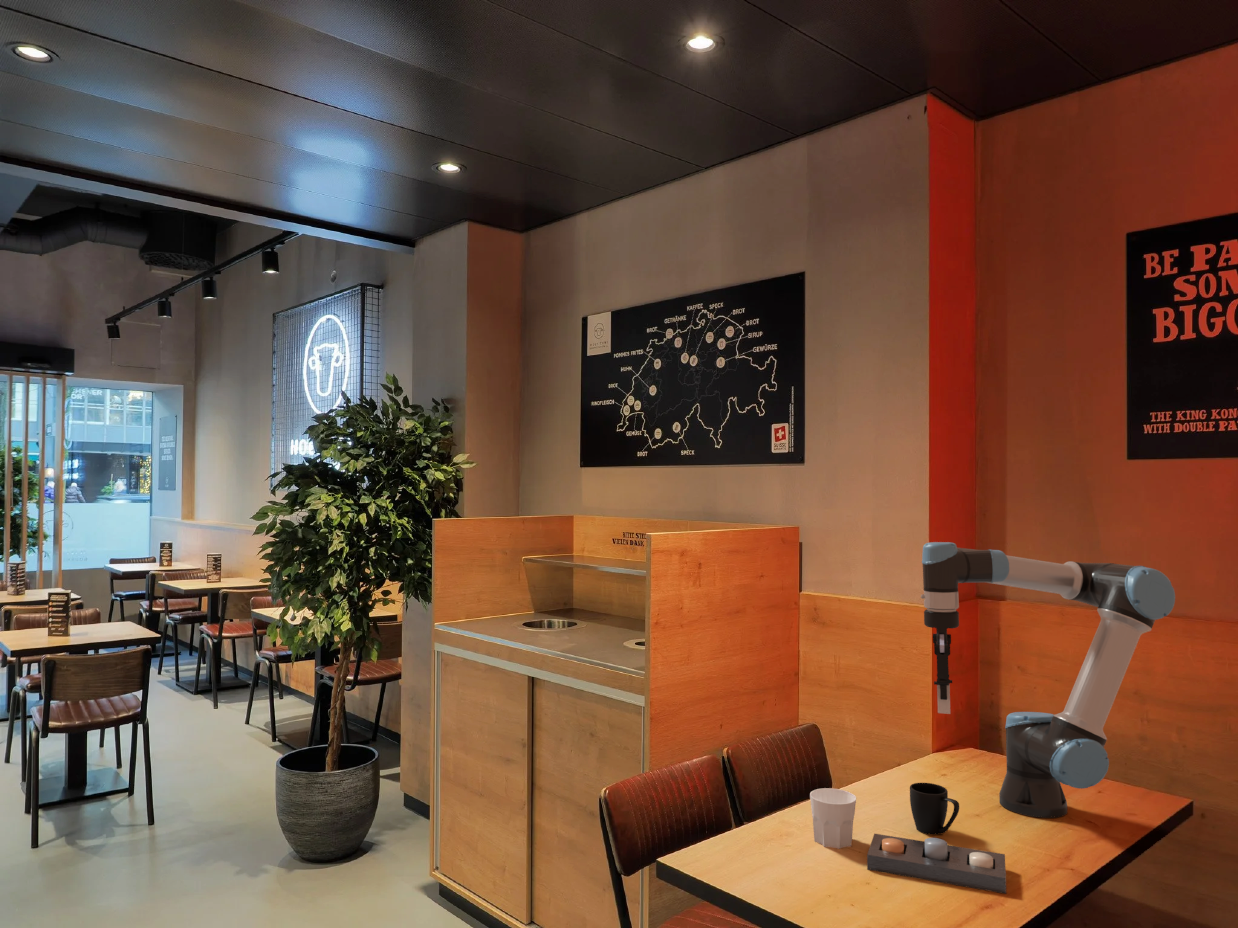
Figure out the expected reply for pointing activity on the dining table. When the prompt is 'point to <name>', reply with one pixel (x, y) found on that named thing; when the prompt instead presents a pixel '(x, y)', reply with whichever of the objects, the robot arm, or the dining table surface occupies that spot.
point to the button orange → (893, 845)
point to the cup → (833, 816)
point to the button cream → (981, 860)
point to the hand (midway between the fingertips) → (944, 712)
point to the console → (938, 865)
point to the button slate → (936, 849)
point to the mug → (931, 808)
